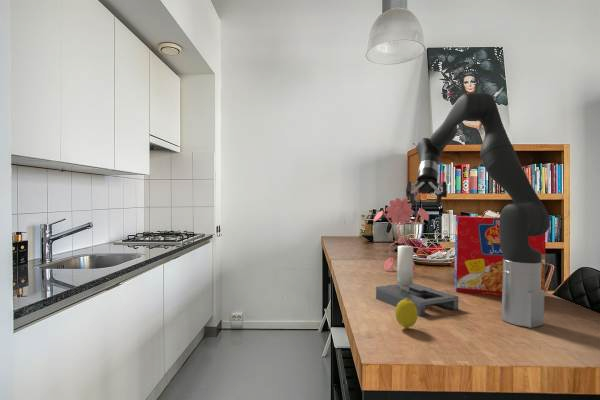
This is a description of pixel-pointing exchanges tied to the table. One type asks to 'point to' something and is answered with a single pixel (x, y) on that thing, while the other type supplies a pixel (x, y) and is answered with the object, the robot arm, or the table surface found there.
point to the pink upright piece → (400, 220)
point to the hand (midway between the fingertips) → (425, 203)
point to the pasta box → (484, 255)
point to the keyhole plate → (416, 297)
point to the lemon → (406, 313)
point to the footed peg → (405, 267)
